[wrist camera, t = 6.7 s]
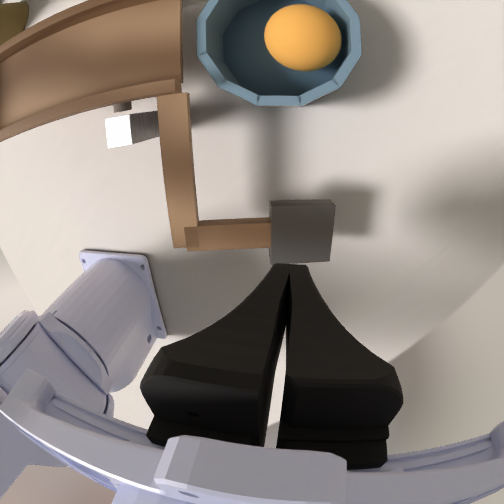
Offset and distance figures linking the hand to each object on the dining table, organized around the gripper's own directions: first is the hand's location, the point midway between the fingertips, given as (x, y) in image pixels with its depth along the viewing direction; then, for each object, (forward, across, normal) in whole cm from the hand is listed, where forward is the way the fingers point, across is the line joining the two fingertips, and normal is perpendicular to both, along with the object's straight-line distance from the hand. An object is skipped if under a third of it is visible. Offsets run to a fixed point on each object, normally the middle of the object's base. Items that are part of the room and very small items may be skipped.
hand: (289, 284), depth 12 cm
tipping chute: (+4, +10, -6) cm, 12 cm away
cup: (+8, +1, -11) cm, 14 cm away
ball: (+6, 0, -11) cm, 12 cm away
